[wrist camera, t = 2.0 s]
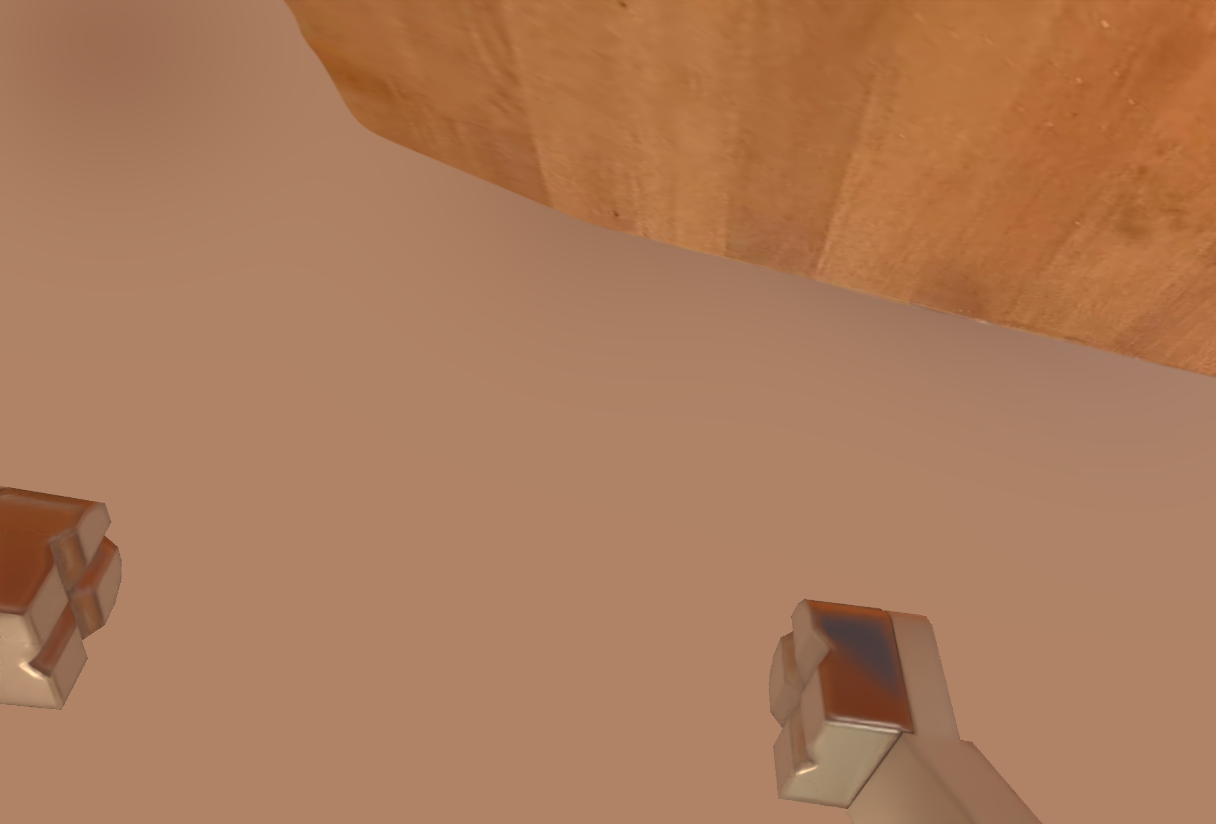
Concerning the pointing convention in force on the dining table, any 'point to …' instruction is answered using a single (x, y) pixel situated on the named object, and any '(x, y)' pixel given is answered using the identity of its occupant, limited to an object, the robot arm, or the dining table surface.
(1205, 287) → the dining table surface
